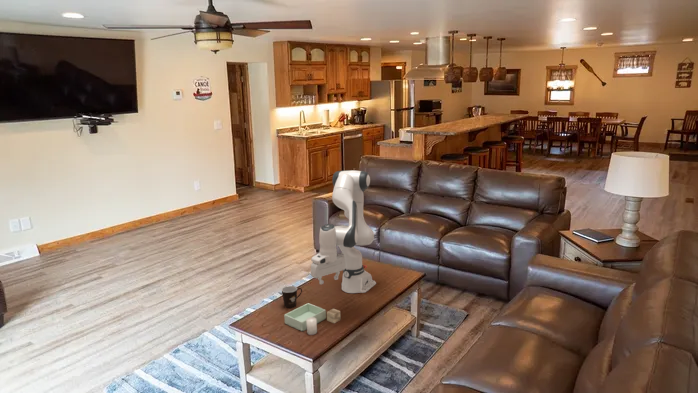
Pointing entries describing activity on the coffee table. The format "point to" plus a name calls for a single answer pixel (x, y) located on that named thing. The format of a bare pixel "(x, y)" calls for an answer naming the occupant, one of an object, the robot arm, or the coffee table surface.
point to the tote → (304, 316)
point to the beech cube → (333, 316)
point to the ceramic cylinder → (311, 325)
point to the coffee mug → (290, 296)
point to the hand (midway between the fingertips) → (328, 281)
